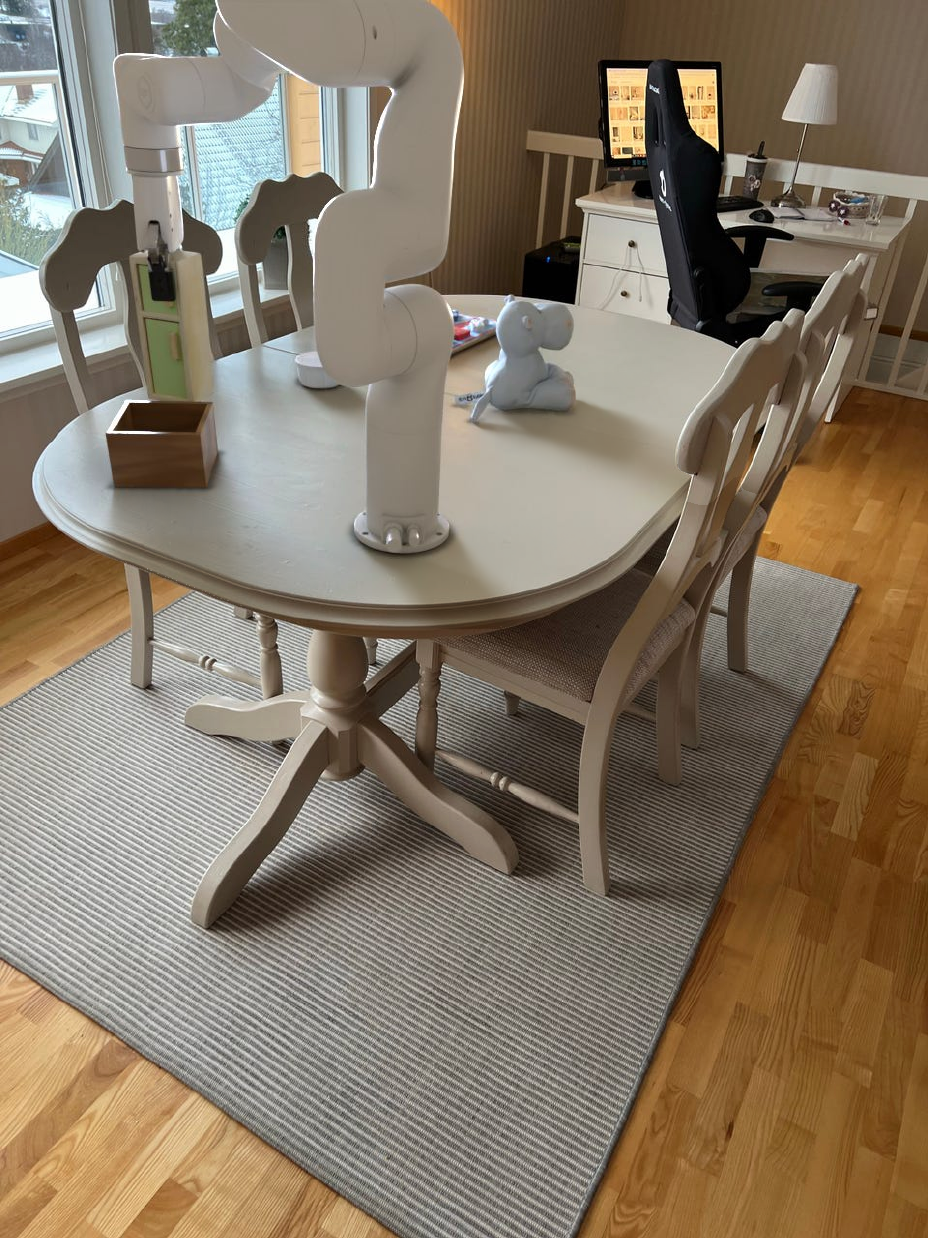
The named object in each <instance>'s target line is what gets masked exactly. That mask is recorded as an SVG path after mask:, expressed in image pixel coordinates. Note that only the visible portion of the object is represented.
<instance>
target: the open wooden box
mask: <svg viewBox="0 0 928 1238" xmlns="http://www.w3.org/2000/svg"><path fill="white" fill-rule="evenodd" d="M214 406H215V405H214V401H201V402H189V401H158V400H139V399H137V400H134V399H133V400H132V399H125V400H124V402H123V403H122V405H121V407H120V408H119V410H118V412H117V413H116V415H115V417H114V418H113V420H112V422H111V424H110V425H109V427H108V429H107V430H106V431H105V439H106V445H107V451H108V457H109V463H110V470H111V476H112V481H113V486H114V487H113V488H170V489H171V488H181V489H183V488H184V489H185V488H186V489H188V488H189V489H206V488H207V486H208V484H209V480H210V477H211V475H212V471H213V468H214V465H215V462H216V459H217V457H218V453H219V447H218V439H217V429H216V428H217V427H216V417H215V407H214Z"/></svg>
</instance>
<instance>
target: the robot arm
mask: <svg viewBox="0 0 928 1238" xmlns="http://www.w3.org/2000/svg"><path fill="white" fill-rule="evenodd" d="M215 4H216V7H217V10H216V12H215V15H214V19H213V35H214V41H215V44H216V47H217V50H218V51H219V53H220V55H218V56H163V55H160V54H151V53H150V54H149V53H123V54H119V55H117V56H116V57H115V59H114V61H113V67H112V69H113V77H114V85H115V92H116V100H117V107H118V108H117V109H118V115H119V123H120V129H121V138H122V144H123V146H122V147H123V152H124V162H125V169H126V173H127V174H129V175H132V198H133V200H132V201H133V212H134V223H135V235H136V245H137V250H138V251H139V252H141V253H145V252H146V251H148V258H147V260H148V274H149V282H150V290H151V298H152V300H153V301H167V302H173V301H175V289H174V280H173V271H170V254H172V253H173V252H174V251H175V250H180V251H183V246H182V243H183V241H184V223H183V212H182V203H181V202H182V201H181V194H180V187H179V185H180V184H179V179H178V176H183V175H184V174H185V165H184V154H183V153H184V152H183V145H182V144H183V143H182V133H181V127H184V126H185V127H186V126H194V125H195V126H197V125H215V124H217V125H218V124H219V125H220V124H228V123H232V122H236V121H238V120H240V119H242V118H244V117H246V116H247V115H249V114H250V113H252V112H254V111H255V110H256V109H258V108H259V107H261V106H262V105H264V104H265V103H266V102H267V101H268V100H269V99H270V98H271V95H272V94H273V91H274V89H275V86H276V81H277V77H278V72H279V71H281V70H283V69H285V70H286V71H289V72H290V73H291V74H293V75H294V76H296V77H297V78H299V79H301V80H303V81H305V82H307V83H308V84H311V85H313V86H317V87H322V88H327V89H328V88H329V89H345V88H347V89H348V88H373V87H374V88H375V87H376V88H377V87H385V88H388V89H390V91H391V97H390V98H389V100H388V102H387V104H386V106H385V107H384V110H383V112H382V114H381V116H380V120H379V122H378V125H377V129H376V133H375V139H374V146H373V149H374V150H373V151H374V152H373V153H374V156H373V157H374V159H373V160H374V161H373V175H372V182H371V184H370V187H369V188H362V189H355V190H350V191H345V192H343V193H340V194H338V195H337V196H335V197H333V198H332V199H331V200H329V202H327V204H326V205H325V206H324V208H323V209H322V211H321V212H320V214H319V217H318V219H317V223H316V225H315V229H314V235H313V247H312V248H313V252H312V253H313V254H312V268H313V272H312V274H313V277H312V279H313V283H312V284H313V285H312V286H313V334H314V344H315V350H316V352H317V354H318V357H319V360H320V362H321V365H322V367H323V368H324V370H325V372H326V373H327V374H328V375H329V377H330V378H331V379H333V380H334V381H335V382H337V383H338V384H339V385H340V386H344V387H348V388H359V387H360V388H361V387H365V386H368V388H367V393H366V397H365V417H364V418H365V420H364V424H365V425H364V426H365V427H364V429H365V430H364V433H365V434H364V435H365V439H364V440H365V441H364V442H365V443H364V446H365V449H364V450H365V451H364V452H365V454H364V455H365V456H364V457H365V458H364V459H365V463H364V465H365V510H362V511H361V512H360V513H359V514H358V515H357V516H356V517H355V519H354V520H353V521H354V522H353V531H354V535H355V537H356V538H357V539H358V540H359V541H360V542H361V543H362V544H364V545H366V546H367V547H370V548H371V549H374V550H377V551H381V552H386V553H392V554H413V553H414V554H415V553H421V552H425V551H429V550H432V549H435V548H437V547H438V546H440V545H442V544H443V543H444V542H446V540H447V539H448V538H449V535H450V523H449V520H448V519H447V518H446V516H444V515H443V514H442V513H441V512H440V511H439V502H440V501H439V499H440V480H441V479H440V478H441V477H440V476H441V475H440V474H441V455H442V453H441V452H442V432H443V431H442V430H443V418H444V417H443V415H444V397H445V388H446V379H447V375H448V370H449V364H450V361H451V358H452V357H451V356H452V355H451V352H452V348H453V342H454V319H453V315H452V311H451V310H452V308H451V307H450V304H449V303H448V301H447V300H446V299H445V297H444V296H443V295H442V294H441V293H440V292H439V291H437V290H436V289H434V288H433V287H430V286H427V285H424V284H419V283H418V284H417V283H407V284H400V285H399V284H398V285H395V286H390V287H386V284H389V283H393V282H397V281H401V280H406V279H410V278H414V277H415V278H416V277H418V276H422V275H424V274H427V273H429V272H432V271H433V270H435V269H436V268H438V267H439V266H440V265H441V264H442V262H443V261H444V259H445V257H446V254H447V251H448V244H449V236H450V223H451V213H452V211H451V210H452V197H453V183H454V172H455V171H454V169H455V166H454V165H455V147H456V138H457V131H458V124H459V118H460V110H461V105H462V99H463V94H464V93H463V91H464V83H465V69H464V68H465V67H464V57H463V56H464V55H463V51H462V46H461V44H460V40H459V37H458V34H457V32H456V30H455V29H454V27H453V24H452V23H451V21H450V20H449V19H448V17H447V15H445V14H444V12H443V11H442V10H441V9H440V8H439V7H437V6H436V5H434V3H432V2H430V1H429V0H215ZM162 256H164V258H163V257H162ZM163 259H164V260H163Z"/></svg>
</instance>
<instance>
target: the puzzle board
mask: <svg viewBox="0 0 928 1238" xmlns="http://www.w3.org/2000/svg"><path fill="white" fill-rule="evenodd" d="M451 311H452V315H453V319H454V342H453V348H452V352H451V356H453V355H455V354H457V353H459V352H461V351H463V350H465V349H467V348H469V347H471V346H474V345H476V344H478V343H481V342H482V341H484V340H486V339H488V338H491V337H493V336H495V335H497V334H496V323H497V320H495V319H490V318H485V317H482V316H480V317H478V316H474V315H469V314H464V313H459V311H458V310H457V309H451Z"/></svg>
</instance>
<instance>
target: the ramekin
mask: <svg viewBox="0 0 928 1238" xmlns="http://www.w3.org/2000/svg"><path fill="white" fill-rule="evenodd" d="M294 361H295V362H294V363H295V364H296V369H297V375H298V381H299V383H300V384H301V385H302V386H305V387H307V388H311V389H329V388H334V387H338V386H339V385H340V384H338V383H337V382H335V381H334V380H333V379H331V378H330V377H329V375H328V374H327V373H326V372H325V370H324V368H323V367H322V365H321V362H320V360H319V357H318V354H317V351H307V352H304V353H300V354H298V355H296V357H295V358H294Z"/></svg>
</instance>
